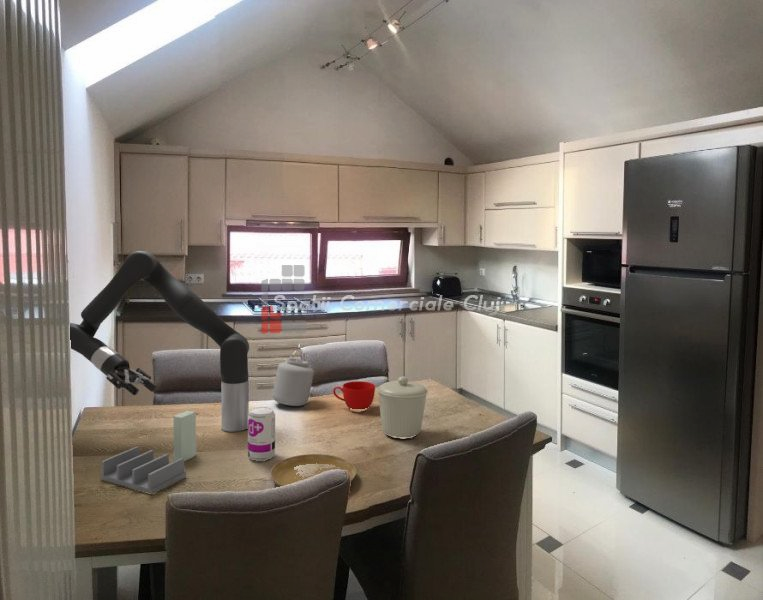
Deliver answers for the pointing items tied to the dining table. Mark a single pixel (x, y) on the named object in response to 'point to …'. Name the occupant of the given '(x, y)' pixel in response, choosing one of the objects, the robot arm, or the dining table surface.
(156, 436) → the dining table surface
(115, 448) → the dining table surface
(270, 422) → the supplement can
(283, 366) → the jar
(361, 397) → the ceramic cup
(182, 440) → the green slab
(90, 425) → the dining table surface
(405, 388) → the canister
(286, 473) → the plant saucer
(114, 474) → the dish rack
